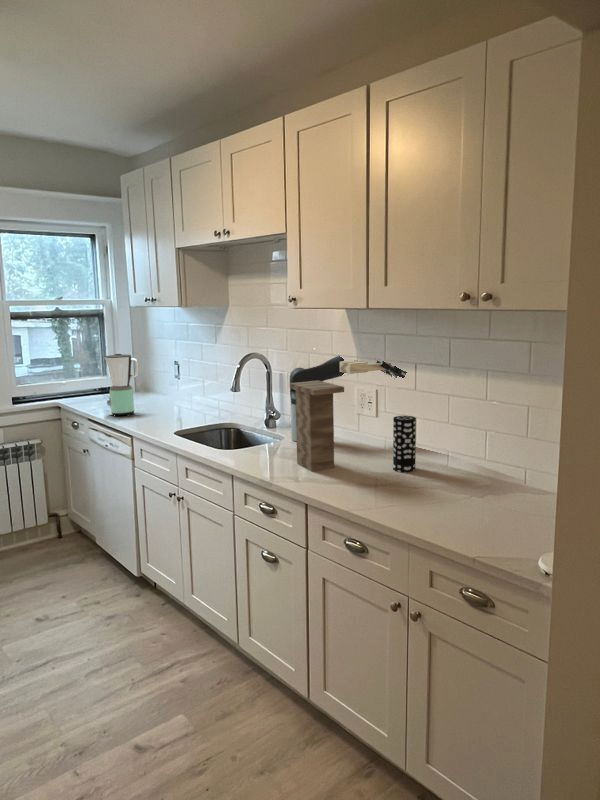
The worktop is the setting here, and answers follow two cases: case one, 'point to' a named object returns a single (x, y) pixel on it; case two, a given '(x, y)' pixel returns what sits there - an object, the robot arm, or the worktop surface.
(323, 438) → the wooden t-shaped post
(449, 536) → the worktop surface
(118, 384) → the mint green blender
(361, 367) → the beige stepped hammer block
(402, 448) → the spotted tube
